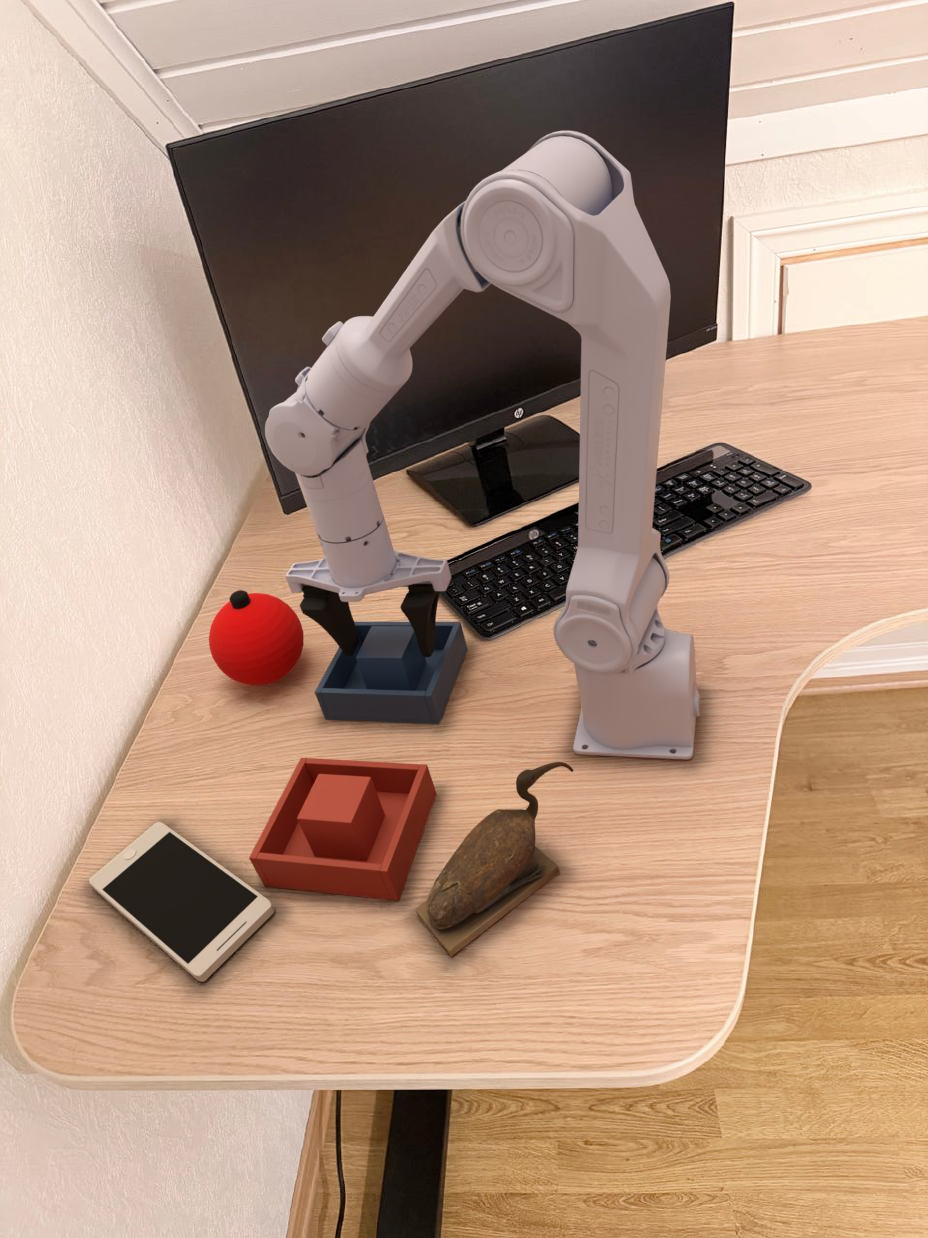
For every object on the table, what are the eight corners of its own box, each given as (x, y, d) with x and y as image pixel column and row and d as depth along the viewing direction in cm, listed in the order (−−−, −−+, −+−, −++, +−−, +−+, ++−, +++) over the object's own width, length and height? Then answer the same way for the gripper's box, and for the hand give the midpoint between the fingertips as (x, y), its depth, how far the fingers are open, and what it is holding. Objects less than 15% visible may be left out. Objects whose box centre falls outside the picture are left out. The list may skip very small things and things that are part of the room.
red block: (385, 814, 73) (371, 776, 70) (367, 861, 69) (351, 822, 67) (334, 811, 74) (318, 773, 71) (314, 856, 71) (296, 818, 68)
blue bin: (467, 649, 88) (460, 621, 86) (439, 724, 80) (430, 695, 78) (362, 648, 92) (352, 621, 89) (325, 720, 84) (314, 692, 82)
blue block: (426, 662, 87) (416, 626, 84) (413, 695, 83) (401, 658, 81) (383, 661, 88) (371, 625, 86) (368, 693, 85) (355, 657, 82)
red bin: (436, 793, 74) (427, 764, 72) (398, 901, 66) (387, 871, 64) (313, 785, 78) (300, 757, 75) (263, 886, 70) (248, 857, 68)
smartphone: (162, 826, 77) (158, 819, 77) (277, 910, 68) (273, 902, 67) (91, 887, 73) (85, 880, 73) (202, 985, 64) (197, 977, 63)
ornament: (219, 668, 94) (182, 591, 88) (300, 633, 96) (270, 555, 90) (239, 718, 87) (201, 637, 81) (326, 679, 89) (295, 597, 83)
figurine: (563, 807, 70) (547, 727, 65) (603, 840, 67) (589, 758, 62) (415, 917, 65) (385, 839, 60) (451, 958, 62) (423, 880, 57)
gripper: (253, 553, 75) (303, 677, 83) (418, 549, 70) (454, 680, 78) (286, 508, 80) (331, 628, 88) (442, 501, 75) (474, 628, 83)
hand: (390, 649), depth 83 cm, fingers open, 7 cm apart
